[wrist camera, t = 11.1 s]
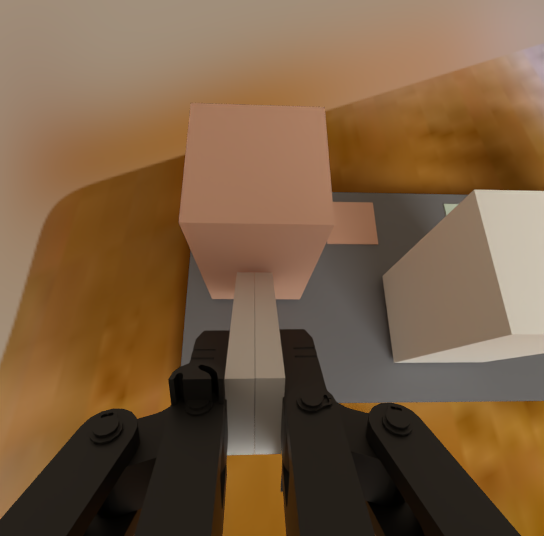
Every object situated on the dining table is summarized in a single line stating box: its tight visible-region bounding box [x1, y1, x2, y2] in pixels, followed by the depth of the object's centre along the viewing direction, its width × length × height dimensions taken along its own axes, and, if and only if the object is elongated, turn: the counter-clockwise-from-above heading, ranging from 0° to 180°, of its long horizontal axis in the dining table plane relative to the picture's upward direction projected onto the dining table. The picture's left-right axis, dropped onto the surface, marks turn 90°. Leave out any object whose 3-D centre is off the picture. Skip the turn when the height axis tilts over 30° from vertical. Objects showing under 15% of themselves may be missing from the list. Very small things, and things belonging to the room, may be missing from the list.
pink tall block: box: [179, 103, 335, 299], centre depth 16 cm, size 5×5×9 cm
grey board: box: [181, 192, 544, 403], centre depth 21 cm, size 28×13×2 cm, turn 90°
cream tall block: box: [382, 190, 544, 363], centre depth 15 cm, size 5×5×9 cm
